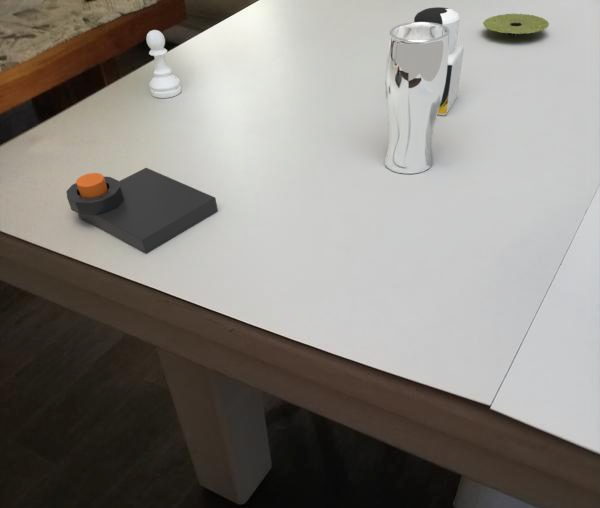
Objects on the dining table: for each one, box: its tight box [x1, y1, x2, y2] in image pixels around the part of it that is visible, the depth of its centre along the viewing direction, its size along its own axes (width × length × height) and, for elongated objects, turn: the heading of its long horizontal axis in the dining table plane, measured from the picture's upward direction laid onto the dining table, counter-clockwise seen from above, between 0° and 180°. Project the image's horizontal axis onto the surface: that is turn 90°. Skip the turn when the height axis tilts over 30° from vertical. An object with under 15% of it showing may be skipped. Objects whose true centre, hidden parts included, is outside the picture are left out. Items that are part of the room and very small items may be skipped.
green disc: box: [482, 13, 550, 35], centre depth 105 cm, size 11×11×2 cm
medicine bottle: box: [413, 6, 465, 117], centre depth 83 cm, size 7×7×12 cm
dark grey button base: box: [66, 167, 219, 255], centre depth 69 cm, size 14×12×4 cm
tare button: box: [75, 172, 108, 197], centre depth 68 cm, size 3×3×2 cm
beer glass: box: [384, 21, 450, 175], centre depth 70 cm, size 7×7×15 cm
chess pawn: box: [145, 29, 182, 99], centre depth 93 cm, size 5×5×9 cm
